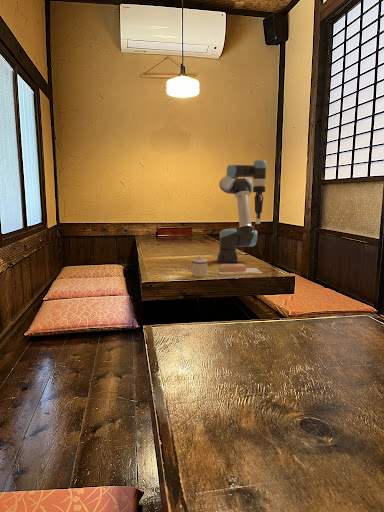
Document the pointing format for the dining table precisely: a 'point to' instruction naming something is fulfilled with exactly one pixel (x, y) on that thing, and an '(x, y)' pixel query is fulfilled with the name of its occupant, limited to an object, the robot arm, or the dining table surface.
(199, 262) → the teacup with lid
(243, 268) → the tile
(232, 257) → the robot arm
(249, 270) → the board
